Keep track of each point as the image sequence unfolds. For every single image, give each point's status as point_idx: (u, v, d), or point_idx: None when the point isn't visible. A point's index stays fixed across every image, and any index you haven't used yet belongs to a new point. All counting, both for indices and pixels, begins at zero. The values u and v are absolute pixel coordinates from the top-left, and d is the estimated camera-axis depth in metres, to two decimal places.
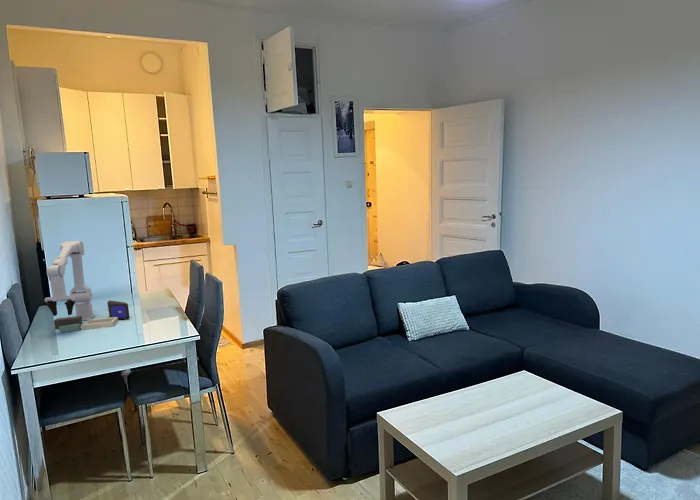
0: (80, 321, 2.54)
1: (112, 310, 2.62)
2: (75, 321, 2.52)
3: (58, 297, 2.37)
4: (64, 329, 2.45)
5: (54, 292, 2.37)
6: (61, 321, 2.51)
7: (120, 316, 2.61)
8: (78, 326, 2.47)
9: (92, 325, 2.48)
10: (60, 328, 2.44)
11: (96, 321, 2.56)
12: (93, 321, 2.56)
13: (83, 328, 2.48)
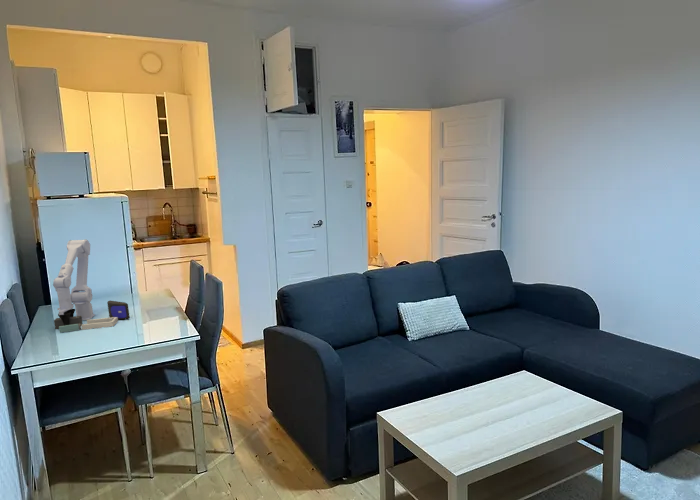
0: (80, 321, 2.54)
1: (112, 311, 2.62)
2: (75, 320, 2.52)
3: None
4: (64, 329, 2.45)
5: None
6: (61, 321, 2.51)
7: (120, 316, 2.61)
8: (78, 326, 2.47)
9: (92, 325, 2.48)
10: (60, 328, 2.44)
11: (96, 321, 2.56)
12: (93, 321, 2.56)
13: (83, 328, 2.48)
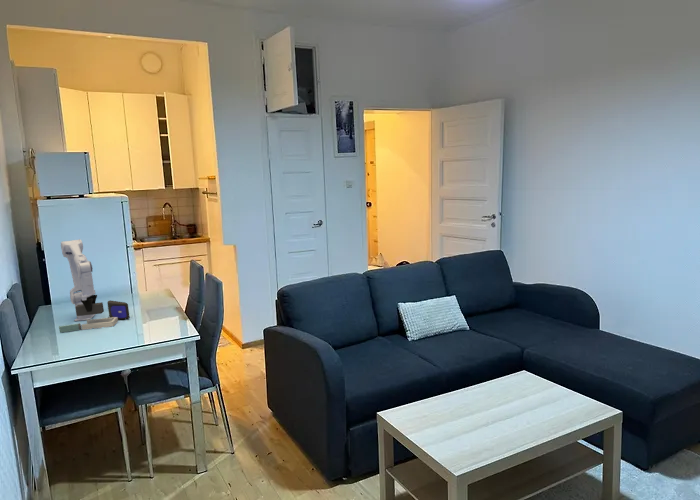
0: (101, 307, 2.52)
1: (112, 310, 2.62)
2: (97, 307, 2.50)
3: (82, 293, 2.49)
4: (64, 329, 2.45)
5: None
6: (83, 307, 2.49)
7: (120, 316, 2.61)
8: (78, 326, 2.47)
9: (92, 325, 2.48)
10: (60, 328, 2.44)
11: (96, 321, 2.56)
12: (93, 321, 2.56)
13: (83, 328, 2.48)
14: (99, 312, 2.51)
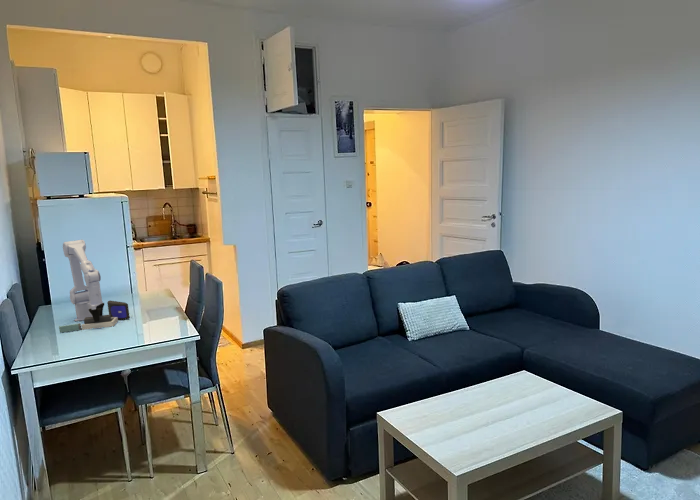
0: (110, 319, 2.54)
1: (112, 311, 2.62)
2: (106, 319, 2.52)
3: (89, 302, 2.49)
4: (64, 329, 2.45)
5: None
6: (91, 320, 2.50)
7: (120, 316, 2.61)
8: (78, 326, 2.47)
9: (92, 325, 2.48)
10: (60, 328, 2.44)
11: None
12: None
13: (83, 328, 2.48)
14: None
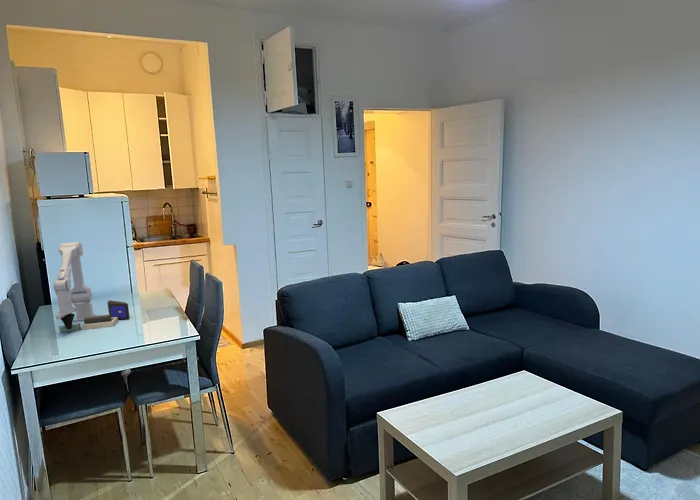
0: (110, 319, 2.54)
1: (112, 310, 2.62)
2: (105, 319, 2.52)
3: None
4: (64, 329, 2.45)
5: None
6: (91, 320, 2.50)
7: (120, 316, 2.61)
8: (78, 326, 2.47)
9: (92, 325, 2.48)
10: (60, 328, 2.44)
11: None
12: None
13: (83, 328, 2.48)
14: None
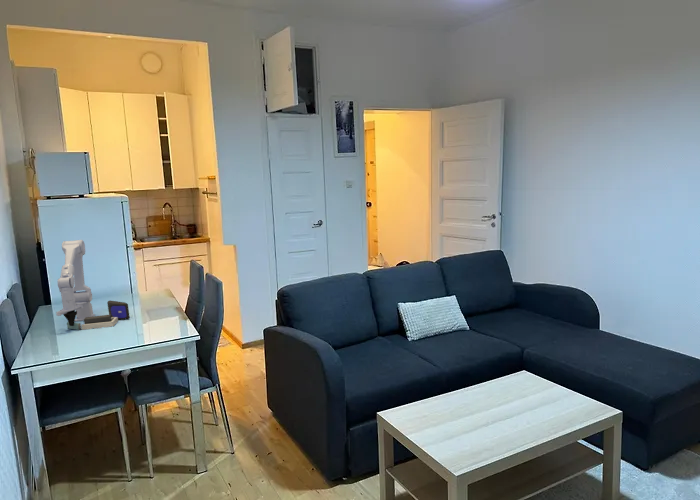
0: (110, 319, 2.54)
1: (112, 310, 2.62)
2: (105, 319, 2.52)
3: None
4: (70, 326, 2.50)
5: None
6: (91, 320, 2.50)
7: (120, 316, 2.61)
8: (78, 326, 2.47)
9: (92, 325, 2.48)
10: (67, 324, 2.50)
11: None
12: None
13: (83, 328, 2.48)
14: None
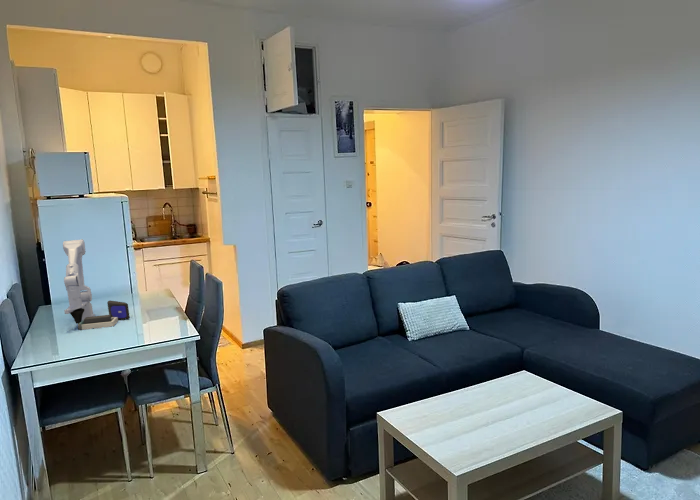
0: (110, 319, 2.54)
1: (112, 310, 2.62)
2: (105, 319, 2.52)
3: None
4: None
5: None
6: (91, 320, 2.50)
7: (120, 316, 2.61)
8: None
9: (92, 325, 2.48)
10: None
11: None
12: None
13: (83, 328, 2.48)
14: None
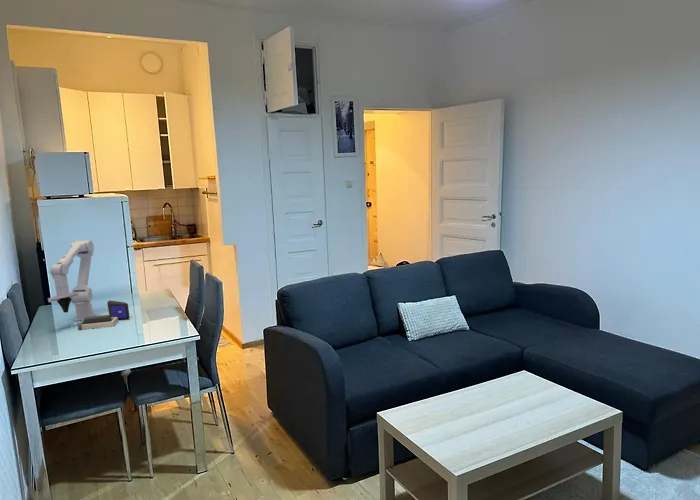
0: (110, 319, 2.54)
1: (112, 310, 2.62)
2: (105, 319, 2.52)
3: None
4: None
5: None
6: (91, 320, 2.50)
7: (120, 316, 2.61)
8: None
9: (92, 325, 2.48)
10: None
11: None
12: None
13: (83, 328, 2.48)
14: None
